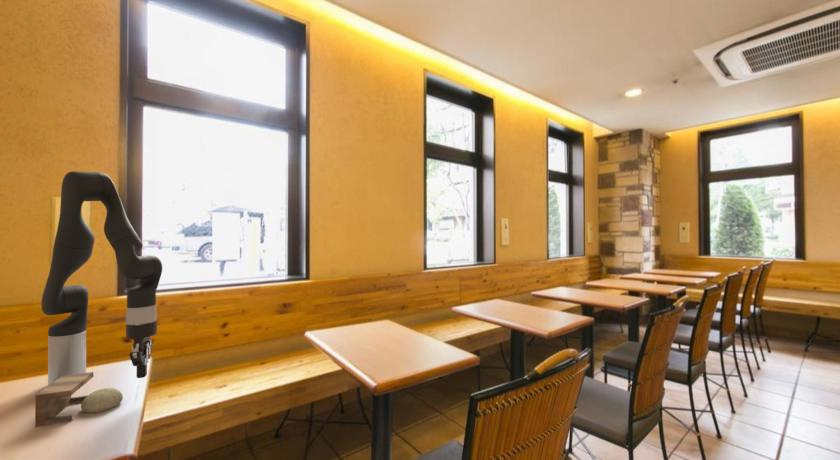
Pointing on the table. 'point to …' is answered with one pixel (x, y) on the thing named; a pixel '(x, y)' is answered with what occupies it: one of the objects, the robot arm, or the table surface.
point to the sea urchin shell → (101, 400)
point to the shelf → (58, 398)
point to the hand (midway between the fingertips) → (141, 376)
